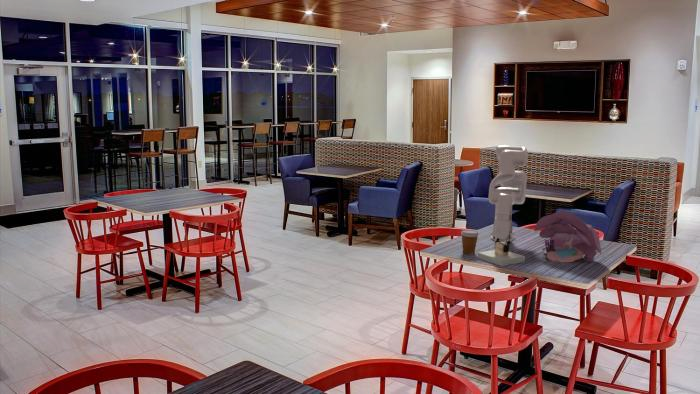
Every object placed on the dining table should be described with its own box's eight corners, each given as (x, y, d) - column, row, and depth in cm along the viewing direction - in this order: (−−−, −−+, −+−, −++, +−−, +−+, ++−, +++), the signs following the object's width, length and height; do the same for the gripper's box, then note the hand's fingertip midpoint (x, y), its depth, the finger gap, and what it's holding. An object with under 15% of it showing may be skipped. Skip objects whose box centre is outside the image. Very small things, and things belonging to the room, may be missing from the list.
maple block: (501, 252, 330) (502, 241, 329) (508, 254, 326) (509, 243, 325) (494, 253, 327) (495, 242, 326) (501, 256, 323) (502, 244, 322)
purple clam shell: (530, 266, 335) (527, 217, 327) (540, 248, 354) (536, 202, 346) (600, 270, 318) (598, 219, 309) (606, 251, 337) (604, 202, 329)
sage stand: (500, 254, 339) (500, 248, 338) (524, 261, 325) (524, 256, 324) (477, 258, 330) (477, 252, 329) (501, 266, 316) (501, 260, 315)
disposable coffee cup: (464, 255, 334) (465, 233, 332) (456, 250, 343) (458, 229, 341) (480, 254, 337) (481, 233, 335) (472, 250, 346) (473, 229, 344)
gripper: (486, 214, 328) (484, 247, 331) (511, 220, 314) (508, 255, 317) (496, 213, 332) (494, 246, 335) (521, 219, 318) (519, 253, 321)
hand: (501, 250), depth 326 cm, fingers open, 5 cm apart
